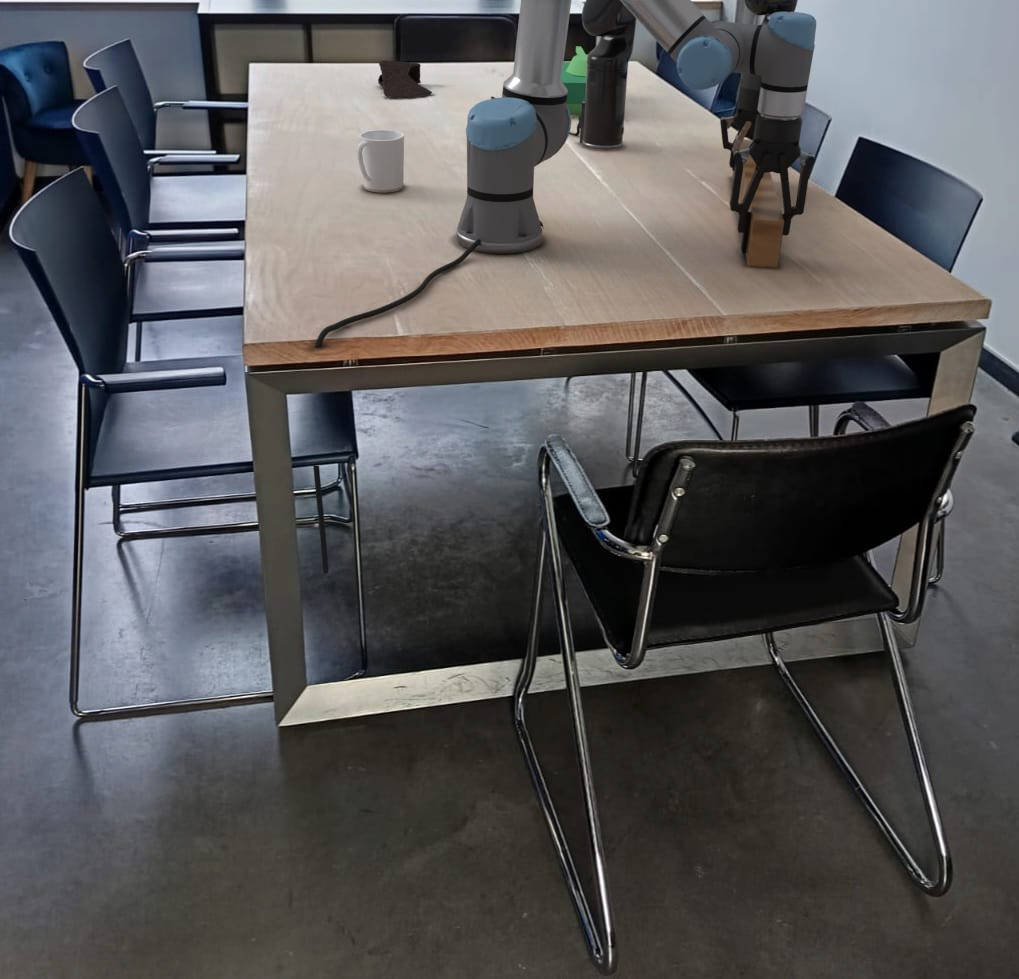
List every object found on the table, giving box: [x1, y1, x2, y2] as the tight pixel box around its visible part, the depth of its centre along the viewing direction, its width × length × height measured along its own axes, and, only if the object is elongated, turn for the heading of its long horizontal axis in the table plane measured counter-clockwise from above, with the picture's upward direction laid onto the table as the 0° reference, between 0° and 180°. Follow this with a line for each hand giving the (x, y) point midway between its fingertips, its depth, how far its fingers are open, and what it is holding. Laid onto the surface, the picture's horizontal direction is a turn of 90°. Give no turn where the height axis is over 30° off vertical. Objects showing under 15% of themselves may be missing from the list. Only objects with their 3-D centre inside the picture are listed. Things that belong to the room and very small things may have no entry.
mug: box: [356, 129, 405, 194], centre depth 219 cm, size 11×9×10 cm
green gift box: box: [561, 45, 588, 116], centre depth 289 cm, size 18×12×35 cm
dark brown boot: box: [377, 59, 433, 99], centre depth 299 cm, size 18×8×15 cm
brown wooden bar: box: [731, 139, 784, 269], centre depth 208 cm, size 55×5×8 cm, turn 173°
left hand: (760, 251), depth 192 cm, fingers closed on brown wooden bar, 5 cm apart
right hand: (747, 170), depth 226 cm, fingers closed on brown wooden bar, 5 cm apart
